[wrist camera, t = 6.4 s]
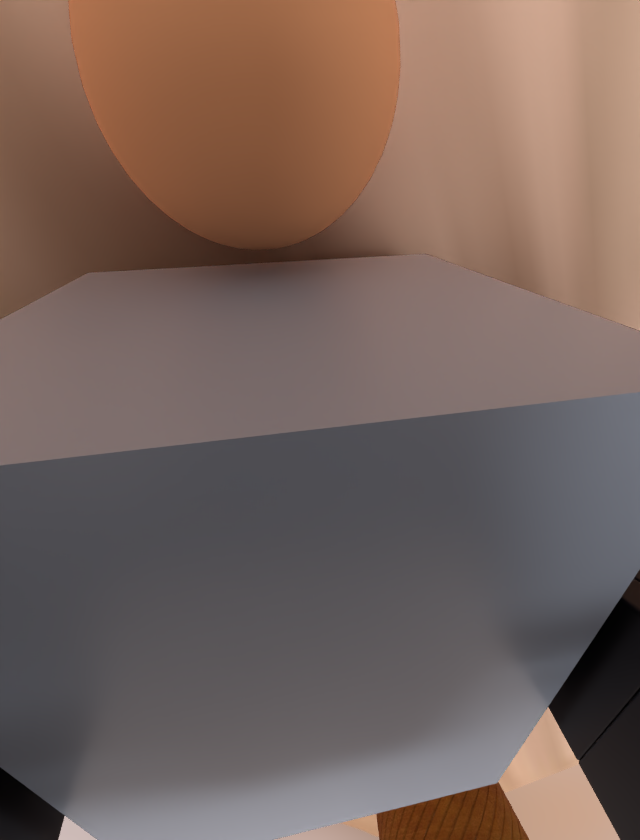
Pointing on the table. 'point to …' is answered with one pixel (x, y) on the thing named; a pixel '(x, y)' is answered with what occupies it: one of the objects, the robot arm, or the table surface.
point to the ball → (243, 106)
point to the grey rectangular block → (300, 536)
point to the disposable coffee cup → (454, 818)
